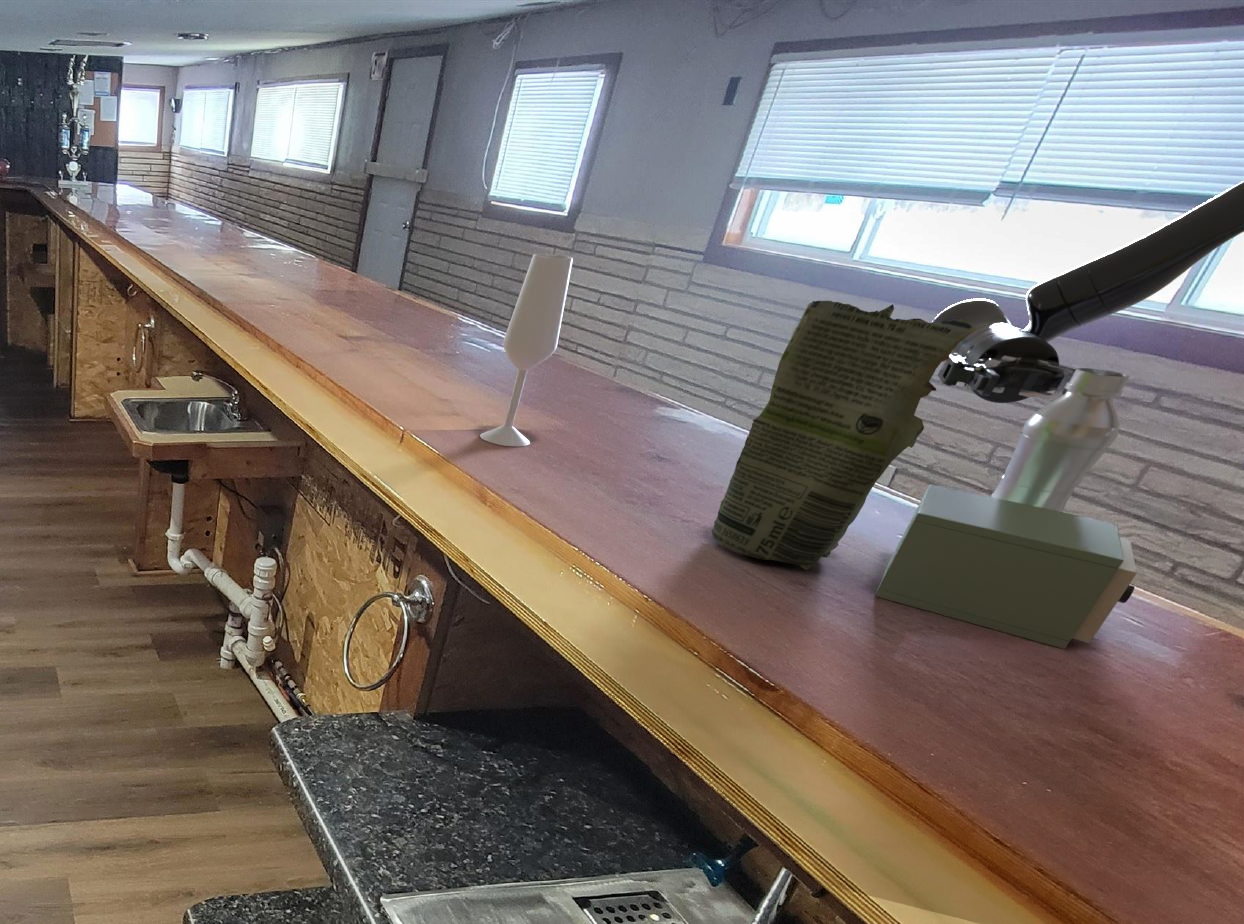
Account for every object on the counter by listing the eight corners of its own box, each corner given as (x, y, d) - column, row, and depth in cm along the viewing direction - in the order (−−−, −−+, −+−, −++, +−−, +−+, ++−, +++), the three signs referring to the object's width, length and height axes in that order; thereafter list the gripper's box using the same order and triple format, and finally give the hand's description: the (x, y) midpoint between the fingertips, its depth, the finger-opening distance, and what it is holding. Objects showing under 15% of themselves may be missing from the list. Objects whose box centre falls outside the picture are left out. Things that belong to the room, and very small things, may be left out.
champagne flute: (492, 429, 130) (537, 251, 118) (537, 440, 126) (589, 257, 114) (471, 437, 125) (516, 254, 113) (518, 449, 121) (569, 261, 109)
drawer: (1104, 609, 83) (1149, 542, 79) (1108, 648, 76) (1157, 577, 73) (920, 562, 91) (954, 500, 87) (909, 594, 84) (945, 527, 80)
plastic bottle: (934, 550, 96) (1036, 362, 86) (1002, 556, 95) (1113, 367, 85) (975, 575, 90) (1090, 377, 81) (1048, 582, 90) (1173, 383, 80)
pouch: (701, 524, 100) (794, 289, 88) (824, 543, 96) (939, 301, 84) (720, 562, 91) (826, 306, 78) (857, 584, 87) (991, 320, 75)
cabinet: (1063, 607, 85) (1118, 523, 81) (1064, 649, 77) (1124, 560, 73) (889, 561, 93) (929, 483, 88) (874, 596, 85) (918, 512, 81)
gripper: (1063, 405, 105) (1110, 440, 93) (914, 385, 111) (939, 415, 98) (1101, 340, 101) (1155, 367, 89) (945, 322, 107) (975, 346, 95)
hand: (1042, 392), depth 94 cm, fingers open, 8 cm apart
